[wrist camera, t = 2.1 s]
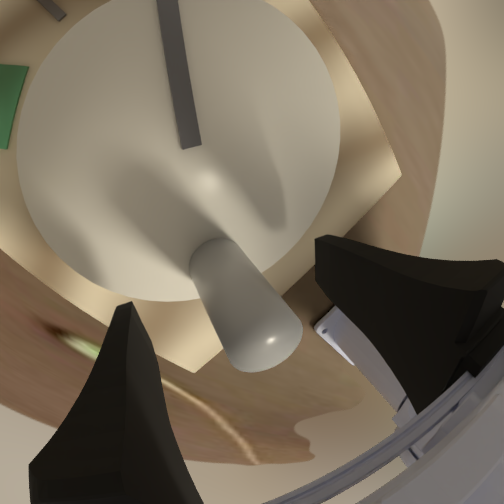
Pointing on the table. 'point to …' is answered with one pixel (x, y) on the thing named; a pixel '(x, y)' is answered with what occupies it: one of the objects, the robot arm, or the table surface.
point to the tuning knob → (183, 158)
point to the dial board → (193, 311)
